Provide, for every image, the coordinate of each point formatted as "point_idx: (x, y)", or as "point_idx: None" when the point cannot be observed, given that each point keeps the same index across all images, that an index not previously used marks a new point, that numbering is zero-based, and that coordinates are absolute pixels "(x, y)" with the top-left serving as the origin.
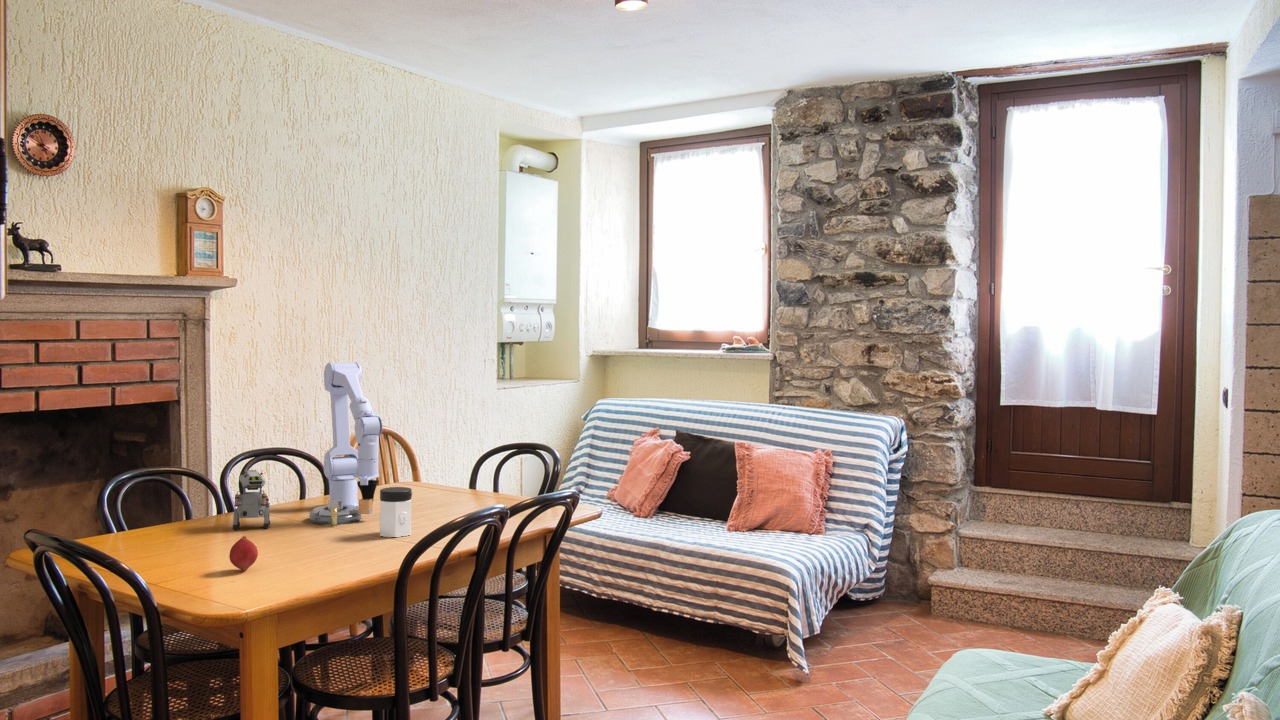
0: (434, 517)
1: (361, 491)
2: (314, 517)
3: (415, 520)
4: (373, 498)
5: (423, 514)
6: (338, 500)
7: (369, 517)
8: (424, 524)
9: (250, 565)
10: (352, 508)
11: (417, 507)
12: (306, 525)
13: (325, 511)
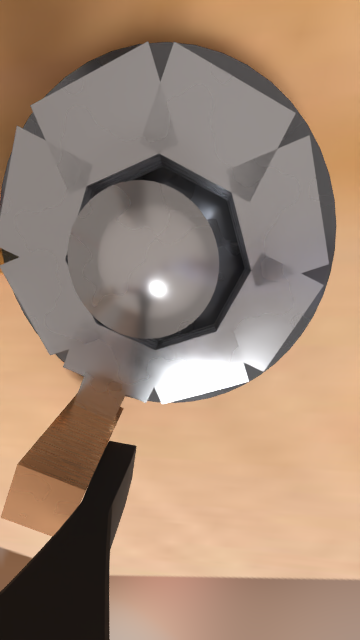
0: (140, 574)
1: (24, 571)
2: None
3: None
4: (112, 539)
5: (197, 559)
6: (127, 296)
7: (186, 411)
8: (37, 542)
9: None
10: (133, 373)
11: (335, 562)
12: (18, 83)
13: (35, 186)
